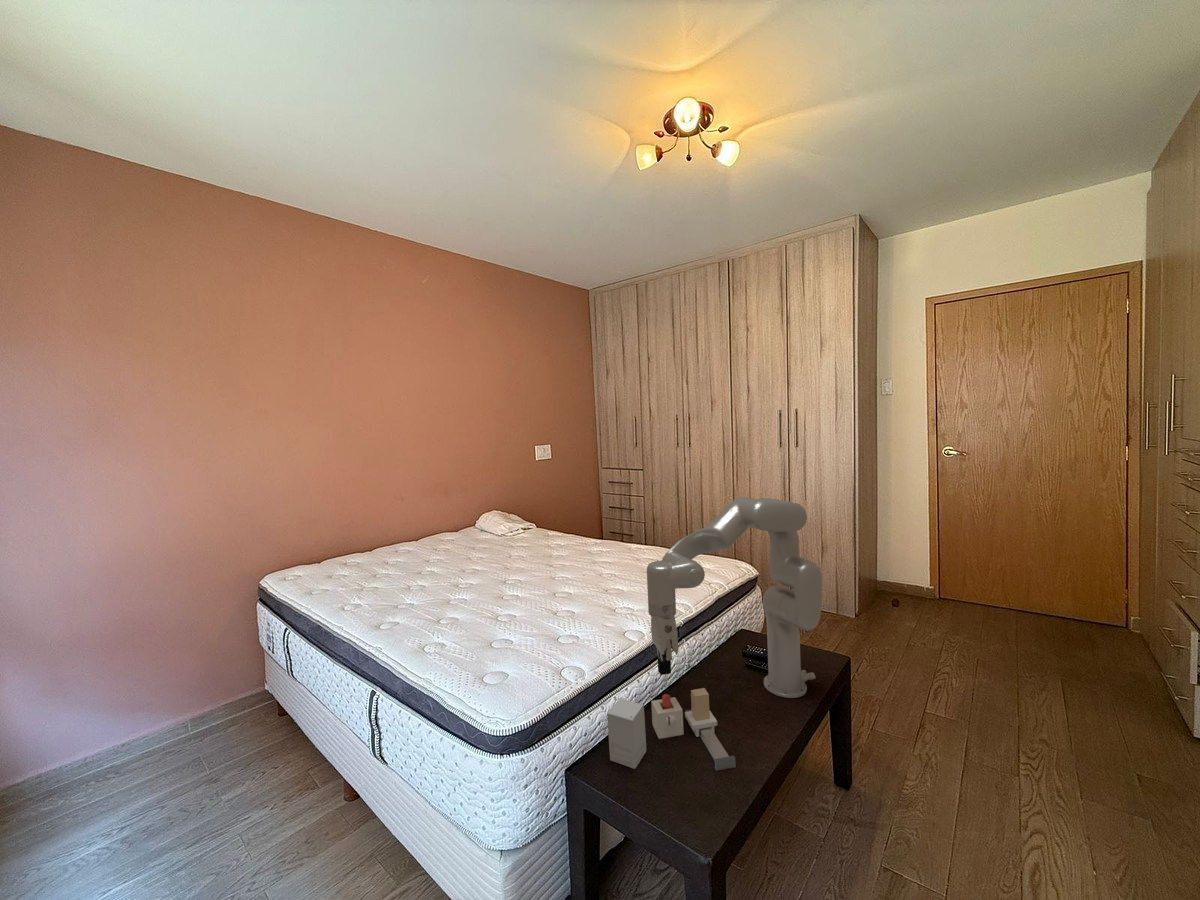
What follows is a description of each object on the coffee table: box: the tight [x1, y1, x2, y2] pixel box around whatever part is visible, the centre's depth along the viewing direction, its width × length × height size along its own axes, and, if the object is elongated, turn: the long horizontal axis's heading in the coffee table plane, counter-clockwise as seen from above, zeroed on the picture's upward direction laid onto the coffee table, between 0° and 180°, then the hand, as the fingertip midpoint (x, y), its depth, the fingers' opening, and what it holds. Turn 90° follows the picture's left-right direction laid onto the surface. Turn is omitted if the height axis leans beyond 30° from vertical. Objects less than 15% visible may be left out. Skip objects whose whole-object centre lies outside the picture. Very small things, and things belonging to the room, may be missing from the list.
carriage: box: [684, 687, 718, 738], centre depth 126 cm, size 7×6×10 cm
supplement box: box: [606, 697, 647, 770], centre depth 117 cm, size 7×7×13 cm
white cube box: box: [650, 696, 685, 740], centre depth 126 cm, size 7×7×7 cm
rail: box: [684, 708, 737, 772], centre depth 122 cm, size 5×21×2 cm, turn 10°
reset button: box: [661, 693, 671, 710], centre depth 127 cm, size 2×2×5 cm
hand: (664, 672), depth 126 cm, fingers closed
